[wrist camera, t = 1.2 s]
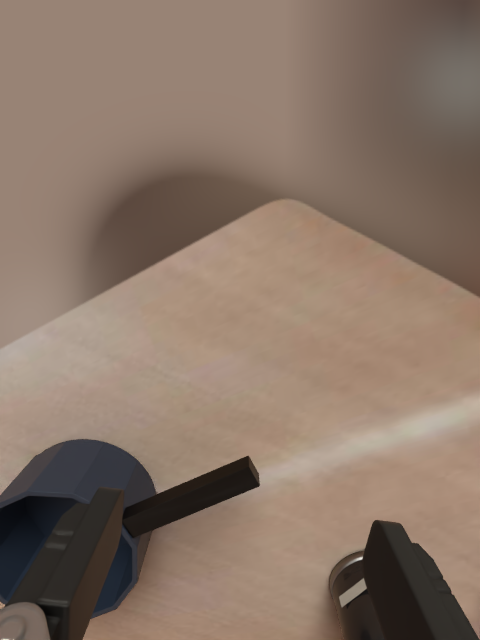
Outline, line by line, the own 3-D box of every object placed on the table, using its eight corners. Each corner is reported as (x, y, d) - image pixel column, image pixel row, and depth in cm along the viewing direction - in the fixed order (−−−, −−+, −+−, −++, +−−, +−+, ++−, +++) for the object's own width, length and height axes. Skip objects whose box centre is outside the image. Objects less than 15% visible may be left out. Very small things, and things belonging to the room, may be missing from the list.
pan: (280, 480, 40) (290, 541, 33) (70, 566, 43) (34, 641, 36) (220, 368, 37) (214, 407, 29) (-4, 471, 40) (-62, 530, 32)
